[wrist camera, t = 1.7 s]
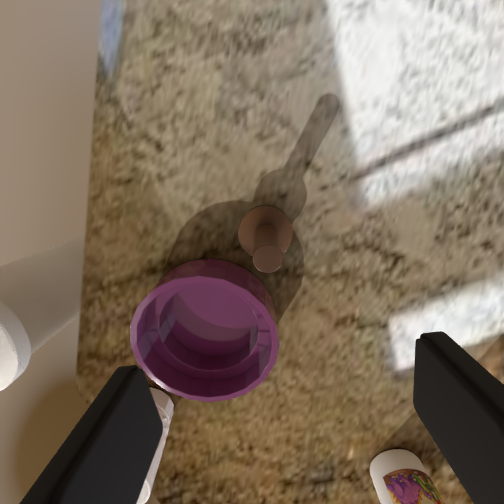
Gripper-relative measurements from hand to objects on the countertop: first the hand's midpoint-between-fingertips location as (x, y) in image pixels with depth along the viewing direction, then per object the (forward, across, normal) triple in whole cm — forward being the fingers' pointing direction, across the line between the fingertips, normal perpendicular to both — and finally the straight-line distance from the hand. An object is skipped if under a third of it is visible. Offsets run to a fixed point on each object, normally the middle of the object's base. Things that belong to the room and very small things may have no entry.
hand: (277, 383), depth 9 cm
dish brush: (+20, 0, -1) cm, 21 cm away
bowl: (+20, +8, +9) cm, 24 cm away
